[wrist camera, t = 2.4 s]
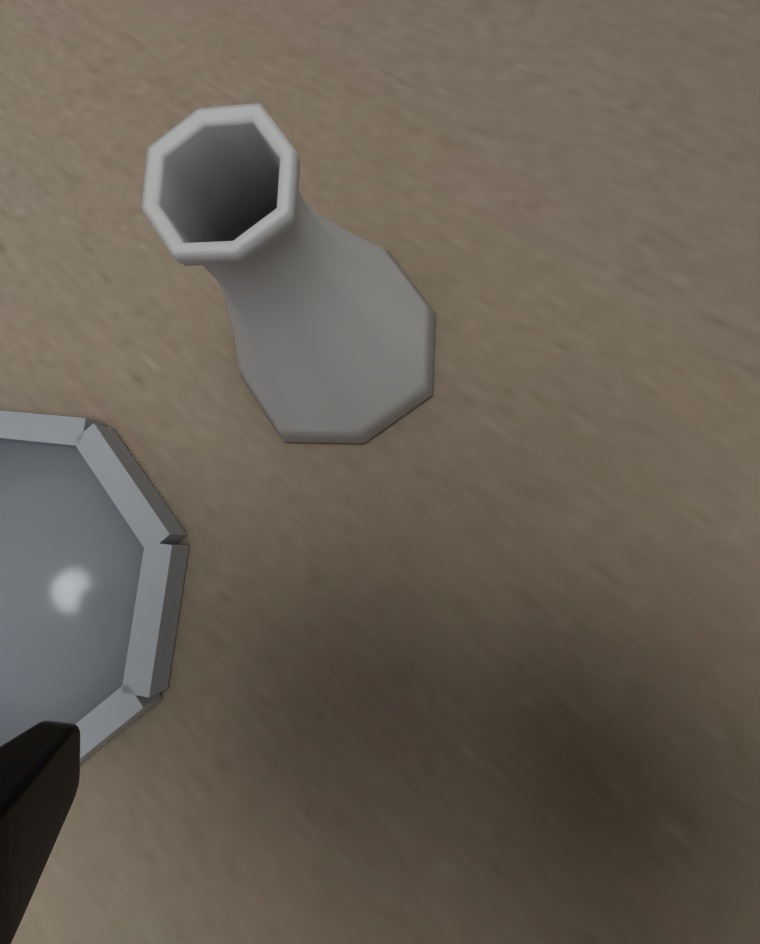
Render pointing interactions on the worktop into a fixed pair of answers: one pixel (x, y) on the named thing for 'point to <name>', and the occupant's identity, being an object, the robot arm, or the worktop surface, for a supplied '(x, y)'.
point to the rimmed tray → (82, 579)
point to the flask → (290, 280)
